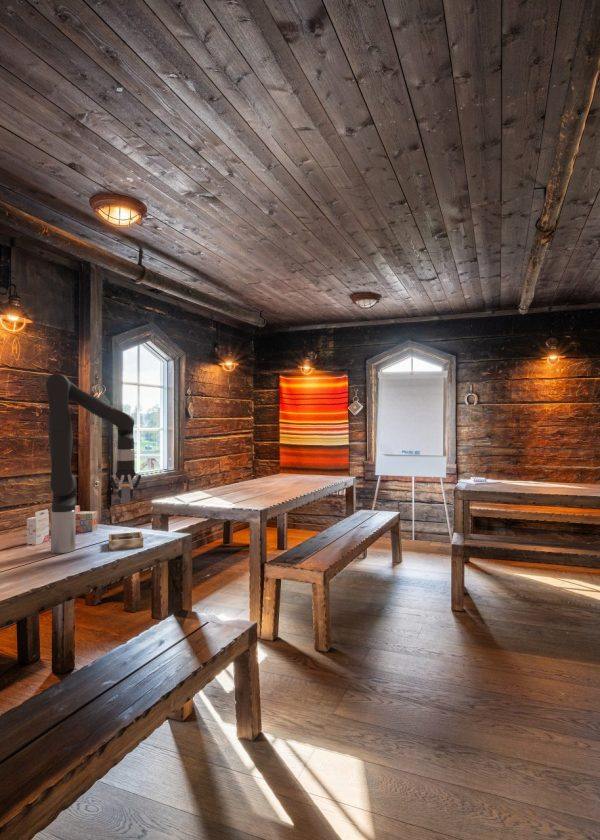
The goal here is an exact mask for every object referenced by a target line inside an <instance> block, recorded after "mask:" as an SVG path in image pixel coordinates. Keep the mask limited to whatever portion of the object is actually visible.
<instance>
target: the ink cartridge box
mask: <svg viewBox="0 0 600 840" xmlns="http://www.w3.org/2000/svg"><path fill="white" fill-rule="evenodd" d="M34 515H35V516H32V517H28V518H26V545H29V544H32V546H36V545H39V544H43V543H46V542H49V541H50V515H49V510H48V508H47V509H44V510H39V511H35V512H34ZM45 541H46V542H45ZM42 542H43V543H42Z"/></svg>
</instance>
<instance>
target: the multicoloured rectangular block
mask: <svg viewBox="0 0 600 840" xmlns="http://www.w3.org/2000/svg"><path fill="white" fill-rule="evenodd" d="M49 514H50V515H49V520H50V531H51V530H52V507H50V513H49ZM96 530H98V511H97V510H96V511H92V510H91V511H89V510H87V511H81V505H76V533H79V532H81V533H84V532H85V533H90V532H95V531H96Z"/></svg>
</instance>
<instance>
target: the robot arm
mask: <svg viewBox="0 0 600 840" xmlns="http://www.w3.org/2000/svg"><path fill="white" fill-rule="evenodd" d="M45 389H46V393H47V400H48V418H47V419H48V421H47V422H48V423H47V424H48V427H47V428H48V429H47V430H48V431H47V432H48V433H47V434H48V435H47V436H48V446H49V455H50V462H51V465H50V466H51V467H50V468H51V470H50V482H49V483H50V484H49V486H50V489H51V491H52V503H51V508H52V530H51V529H50V554H66V553H67V554H68V553H72V552H73V551H75V550H76V547H77V545H76V533H77V532H76V506H77V487H78V485H77V478H76V477H75V475H74V474H72V465H71V464H72V463H71V461H72V459H71V458H72V452H73V443H74V435H73V434H74V433H73V432H74V431H73V423H72V417H71V413H70V408H69V401H70V402H73V403H75V404H76V405H78V406H79V407H81V408H84V409H85V410H86V411H88V412H89V413H91V414H93V415H95V416H97V417H99V418H100V419H102V420H103V421H107V422H109V423H111V424H112V425H113V426H116V427H117V443H116V444H117V446H116V447H117V449H116V450H117V451H116V472H115V474H113V475H110V476H109V479H110V482H111V484H112V486H113V488H114V489H115V490H117V496H118V498H119V499H121V484H122V483H123V482H129V483H130V499H131V498H132V497H134V489H136V488H138V487H139V484H140V481H141V479H142V474H139V473H136V471H135V469H136V468H135V467H136V466H135V462H136V461H135V460H136V459H135V456H136V455H135V453H136V452H135V438H134V426H135V420H134V418H133V416H131V415H130V414H127V413H126V412H124V411H123V410H120V409H118V408H116V406H113V405H112V404H111V403H108V402H106V401H104V400H103V399H100V398H98V397H97V396H95V395H92V394H90V393H88V392H86V391H85V390H82V389H81V388H79V387H78V386H76V385H75V384H74V383H73V382H72V381H70V380H69V378H68V377H67V376H65V375H64V374H62V373H58V372H57V373H52V374H51V375H49V376H48V377H47V379H46V381H45ZM116 478H117V479H118V485H117V484H116V481H115V480H116ZM134 478H135V479H136V480H135V483H134V484H133V479H134Z"/></svg>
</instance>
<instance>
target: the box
mask: <svg viewBox="0 0 600 840" xmlns="http://www.w3.org/2000/svg"><path fill="white" fill-rule="evenodd" d="M139 548H141V549H142V548H144V536H143V533H142V531H134V532H121V533H110V534H108V551H118V550H128V549H129V550H130V549H139Z"/></svg>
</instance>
